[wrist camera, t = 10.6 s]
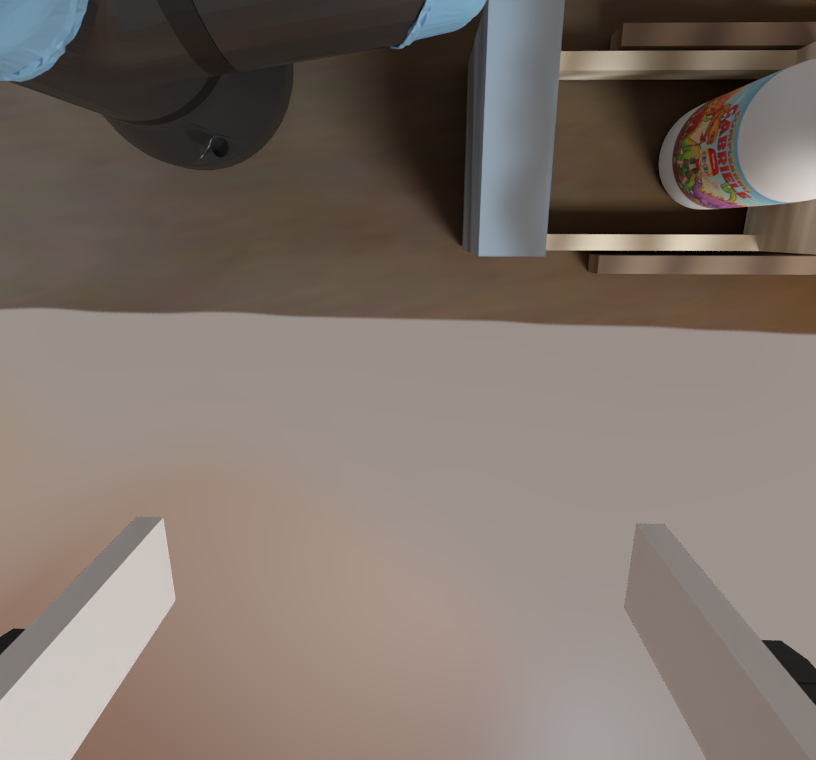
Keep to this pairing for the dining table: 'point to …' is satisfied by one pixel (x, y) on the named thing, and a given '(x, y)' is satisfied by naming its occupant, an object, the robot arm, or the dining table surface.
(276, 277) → the dining table surface
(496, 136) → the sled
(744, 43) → the dark wooden tray
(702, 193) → the milk bottle
